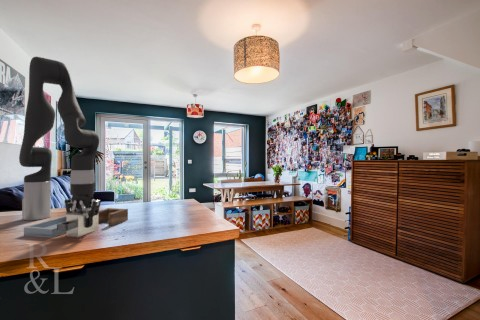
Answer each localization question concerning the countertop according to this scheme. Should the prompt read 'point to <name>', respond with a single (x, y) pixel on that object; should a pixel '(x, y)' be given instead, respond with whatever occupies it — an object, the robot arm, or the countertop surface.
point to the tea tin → (77, 224)
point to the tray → (45, 228)
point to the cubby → (113, 216)
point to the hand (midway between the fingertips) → (82, 226)
